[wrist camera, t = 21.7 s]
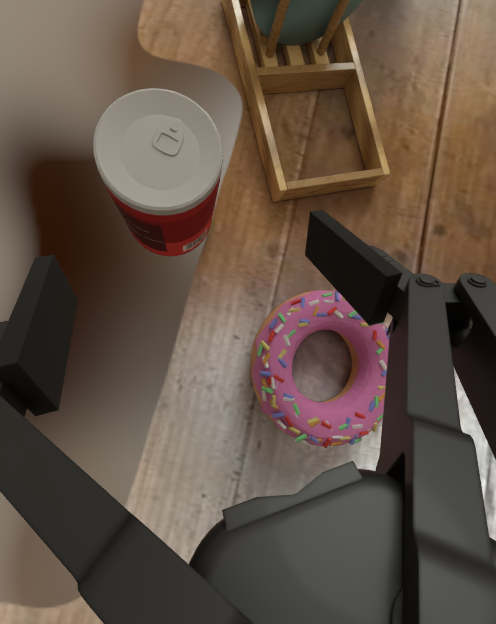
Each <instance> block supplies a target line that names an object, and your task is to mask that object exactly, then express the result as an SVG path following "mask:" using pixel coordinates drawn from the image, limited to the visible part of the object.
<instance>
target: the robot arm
mask: <svg viewBox="0 0 496 624" xmlns="http://www.w3.org/2000/svg"><path fill="white" fill-rule="evenodd" d="M305 255H306V257H307V258H308V259H309V260H310V261H311V262H312V263H313V264H314V265H315V266H316V268H317V269H318V270H319V271H320V272H321V273H322V274H323V275H324V276H325V278H326V279H327V280H328V281H329V282H330V283H331V284H332V285H333V286H334V288H335V289H336V290H337V291H338V292H339V293H340V294H341V295H342V296H343V298H344V299H345V300H346V301H347V302H348V303H349V304H350V305H351V306H352V307H353V309H354V310H355V311H356V312H357V313H358V314H359V315H360V316H361V317H362V319H363V320H364V321H365V322H366V323H367V324H368V325H369V326H371V325H375V324H379V323H382V322H384V320H385V317H386V315H387V312H388V313H389V314H390V315H391V316H392V317H393V319H392V321H391V323H390V326H389V328H388V331H387V333H386V335H389V333H390V336H389V348H388V361H387V373H386V386H385V398H384V410H383V423H382V435H381V448H380V456H379V460H378V463H377V467H376V471H371V470H364V469H357V467H356V465H355V464H354V462H353V461H351V462H349V463H346V464H343V465H341V466H338V467H335V468H333V469H330V470H327V471H325V472H323V473H321V474H320V475H319V476H318V477H316V478H315V479H314V480H313V481H311V482H310V483H309V484H308V485H306V486H305V487H304V488H303V489H301V490H300V491H299V492H298V493H296V494H293V495H283V496H267V497H256V498H253V499H250V500H248V501H245V502H242V503H240V504H237V505H234V506H232V507H229V508H226V509H224V510H222V512H223V517H224V519H222V520H221V521H220V522H218V523H217V524H216V525H215V526H214V527H213V528H212V529H211V530H210V531H209V532H208V533H207V534H206V536H205V537H204V538H203V540H202V541H201V543H200V544H199V546H198V547H197V549H196V551H195V553H194V555H193V557H192V559H191V561H190V563H189V565H188V564H187V563H186V562H185V561H184V560H183V559H182V558H181V557H180V556H178V555H177V554H176V553H175V552H174V551H173V550H172V549H171V548H170V547H168V546H167V545H166V544H165V543H164V542H163V541H162V540H161V539H160V538H158V537H157V536H156V535H155V534H154V533H153V532H152V531H151V530H150V529H148V528H147V527H146V526H145V525H144V524H143V523H142V522H141V521H139V520H138V519H137V518H136V517H135V516H134V515H132V514H131V513H130V512H129V511H128V510H127V509H126V508H124V507H123V506H122V505H121V504H120V503H119V502H118V501H117V500H116V499H114V498H113V497H112V496H111V495H110V494H109V493H108V492H106V490H104V489H103V488H102V487H101V486H100V485H99V484H98V483H97V482H96V481H94V480H93V479H92V478H91V477H90V476H89V475H88V474H87V473H86V472H84V471H83V470H82V469H81V468H80V467H79V466H78V465H77V464H75V463H74V462H73V461H72V460H71V459H70V458H69V457H68V456H67V455H65V454H64V453H63V452H62V451H61V450H60V449H59V448H58V447H57V446H55V445H54V444H53V443H52V442H51V441H50V440H49V439H48V438H47V437H45V436H44V435H43V434H42V433H41V432H40V431H39V430H38V429H37V428H36V427H34V426H33V425H32V424H31V423H30V422H29V421H28V420H27V419H26V418H24V417H25V413H26V409H29V410H30V411H31V412H32V413H33V414H34V415H35V416H38V415H42V414H45V413H49V412H53V411H56V410H59V404H60V398H61V393H62V388H63V382H64V376H65V370H66V364H67V359H68V353H69V348H70V343H71V337H72V331H73V326H74V320H75V314H76V309H77V303H78V300H77V298H76V296H75V294H74V292H73V290H72V289H71V287H70V285H69V283H68V281H67V280H66V277H65V276H64V274H63V272H62V270H61V268H60V266H59V265H58V263H57V261H56V259H55V257H54V255H50V256H44V257H38V258H35V260H34V262H33V264H32V267H31V269H30V271H29V274H28V276H27V278H26V281H25V283H24V286H23V288H22V290H21V293H20V295H19V297H18V300H17V302H16V304H15V307H14V309H13V311H12V314H11V316H10V319H9V321H4V322H0V492H1V493H2V494H3V495H4V496H5V497H6V499H7V500H8V501H9V502H10V503H11V504H12V506H13V507H14V508H15V509H16V510H17V511H18V513H19V514H20V515H21V516H22V517H23V518H24V519H25V520H26V522H27V523H28V524H29V525H30V526H31V527H32V529H33V530H34V531H35V532H36V533H37V535H38V536H39V537H40V538H41V539H42V540H43V542H44V543H45V544H46V545H47V546H48V547H49V549H50V550H51V551H52V552H53V553H54V554H55V556H56V557H57V558H58V559H59V560H60V561H61V563H62V564H63V565H64V566H65V567H66V568H67V570H68V571H69V572H70V573H71V574H72V575H73V577H74V578H75V579H76V581H77V583H78V591H79V592H80V594H81V596H82V597H83V599H84V600H85V601H86V603H87V604H88V605H89V606H90V608H91V609H92V610H93V611H94V612H95V614H96V615H97V616H98V617H99V618H100V620H101V621H102V622H103V623H104V624H496V541H495V540H493V539H492V538H490V537H489V533H488V526H487V520H486V513H485V507H484V500H483V494H482V487H481V481H480V474H479V468H478V461H477V455H476V448H475V444H474V441H473V439H472V437H471V436H470V435H468V434H465V433H463V432H462V430H461V426H460V418H459V409H458V401H457V393H456V385H455V377H454V369H453V366H454V368H455V371H456V373H457V375H458V377H459V379H460V382H461V384H462V386H463V388H464V390H465V393H466V395H467V397H468V399H469V402H470V404H471V406H472V408H473V410H474V413H475V415H476V417H477V419H478V422H479V424H480V426H481V428H482V430H483V433H484V435H485V437H486V439H487V441H488V444H489V446H490V448H491V450H492V453H493V455H494V457H495V459H496V285H495V283H494V282H493V281H491V280H490V279H488V278H486V277H485V276H483V275H480V274H473V273H465V274H462V275H461V276H460V277H459V279H458V281H457V283H442V282H441V281H440V280H438V279H437V278H435V277H433V276H430V275H427V274H413V273H412V272H410V271H409V270H408V269H406V268H405V267H404V266H402V265H401V264H400V263H398V262H397V261H395V260H394V259H393V258H392V257H390V256H389V255H388V254H387V253H385V252H384V251H383V250H381V249H379V248H376V247H374V246H368V245H367V244H366V243H364V242H363V241H362V240H360V239H359V238H358V237H357V236H355V235H354V234H353V233H352V232H350V231H349V230H348V229H346V228H345V227H344V226H343V225H341V224H340V223H339V222H338V221H336V220H335V219H334V218H332V217H331V216H330V215H329V214H327V213H326V212H325V211H323V210H318V211H312V212H310V217H309V226H308V234H307V243H306V251H305Z"/></svg>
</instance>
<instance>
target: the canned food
mask: <svg viewBox="0 0 496 624" xmlns="http://www.w3.org/2000/svg"><path fill="white" fill-rule="evenodd" d="M93 142H94V156H95V160H96V164H97V167H98V171H99V173H100V175H101V177H102V179H103V181H104V183H105V185H106V187H107V189H108V191H109V193H110V195H111V197H112V199H113V200H114V202H115V204H116V205H117V207H118V209H119V211H120V213H121V215H122V216H123V218H124V220H125V222H126V223H127V225H128V227H129V229H130V231H131V232H132V234H133V236H134V237H135V238H136V240H137V241H138V242H139V243H140V244H141V245H142V246H143V247H144V248H146V249H147V250H149V251H151V252H153V253H156V254H159V255H164V256H177V255H182V254H185V253H187V252H190V251H191V250H193V249H195V248H196V247H197V246H198V245H199V244H200V243H201V242H202V241H203V240H204V238H205V237H206V235H207V234H208V231H209V228H210V225H211V220H212V215H213V211H214V206H215V201H216V196H217V191H218V187H219V182H220V175H221V169H222V162H223V159H222V157H223V155H222V143H221V139H220V136H219V132H218V130H217V128H216V126H215V124H214V122H213V120H212V119H211V118H210V116H209V115H208V114H207V112H205V110H204V109H203V108H202V107H200V106H199V105H198V104H197V103H196V102H194V101H193V100H191V99H190V98H188V97H186V96H184V95H181V94H179V93H177V92H174V91H170V90H166V89H155V88H150V89H142V90H137V91H134V92H131V93H128V94H126V95H124V96H122V97H121V98H119V99H117V100H116V101H115V102H114V103H113V104H111V105H110V106H109V107H108V108H107V109H106V111H105V113H104V114H103V115H102V116H101V118H100V120H99V123H98V125H97V127H96V130H95V136H94V141H93Z"/></svg>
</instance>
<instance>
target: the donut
mask: <svg viewBox="0 0 496 624" xmlns="http://www.w3.org/2000/svg"><path fill="white" fill-rule="evenodd" d="M384 321H385V320H384ZM383 323H384V322H382V323H379V324H375V325H371V326H369V325H368V324H367V323H366V322H365V321H364V320H363V319H362V317H361V316H360V315H359V314H358V313H357V312H356V311H355V310H354V309H353V307H352V306H351V305H350V304H349V303H348V302H347V301H346V300H345V299H344V298H343V296H342V295H341V294H340V293H339V292H334V291H329V290H318V291H310V292H305V293H302V294H299V295H296V296H294V297H292V298H290V299H288V300H286V301H284V302H283V303H281V304H280V305H279V306H277V307H276V308H275V309H274V310H273V311H272V312H271V313H270V315H269V316H268V317H267V318H266V319H265V320H264V322H263V323H262V325H261V327H260V329H259V331H258V333H257V335H256V338H255V341H254V344H253V348H252V355H251V376H252V383H253V387H254V390H255V393H256V396H257V398H258V401H259V402H260V404H261V410H262V411H263V412H264V413H265V414H267V416H268V417H269V418H270V419H271V420H272V421H273V422H274V423H275V424H276V426H277V427H278V428H279V429H280V430H282V431H283V432H285V433H287V434H288V435H290V436H292V437H294V438H295V439H296V441H297V442H300V443H303V444H306V445H308V444H312V445H318V446H323V447H325V448H327V446H338V445H342V444H346V443H350V444H351V445H353V444H354V443H356V442H358V441H360V440H361V437H363V436H364V435H366V434H369V432H370V431H371V430H372V431H374V432H375V431H376V430H377V426H379V427H380V426H381V425H382V423H383V410H384V398H385V386H386V373H387V361H388V348H389V336H390V333H389V335H386V333H387V331H388V329H387V328H386V327H385V325H384V324H383ZM318 330H333V331H335V332H337V333H338V334H339V335H341V336H342V338H343V339H344V340H345V341H346V343H347V344H348V347H349V349H350V352H351V357H352V369H351V373H350V377H349V380H348V382H347V384H346V385H345V387H344V388H343V389H342V391H341V392H340V393H339V394H337V395H336V396H335V397H333V398H332V399H329V400H327V401H322V402H314V401H312V400H309V399H307V398H306V397H304V396H303V395H302V394H301V393H300V392H299V391H298V389H297V388H296V385H295V383H294V381H293V376H292V363H293V358H294V355H295V352H296V350H297V348H298V346H299V345H300V344H301V343H302V341H303V340H304V339H305V338H306V337H307V336H308V335H310V334H311V333H313V332H316V331H318Z"/></svg>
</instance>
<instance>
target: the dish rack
mask: <svg viewBox="0 0 496 624" xmlns="http://www.w3.org/2000/svg"><path fill="white" fill-rule="evenodd" d="M361 2H362V0H222V4H223V8H224V12H225V16H226V20H227V24H228V28H229V32H230V35H231V39H232V43H233V47H234V51H235V55H236V59H237V63H238V67H239V71H240V75H241V79H242V83H243V87H244V91H245V95H246V99H247V103H248V106H249V110H250V114H251V118H252V122H253V126H254V130H255V134H256V138H257V142H258V146H259V150H260V154H261V158H262V162H263V166H264V170H265V174H266V177H267V181H268V185H269V189H270V193H271V197H272V201H273V202H276V201H282V200H289V199H295V198H301V197H307V196H314V195H320V194H326V193H332V192H339V191H345V190H351V189H357V188H364V187H371V186H376V185H377V184H378V183H380V182H381V181H382V180H383V179H385V178H386V177H387V176H388V175H390V171H389V168H388V164H387V160H386V156H385V153H384V149H383V145H382V141H381V138H380V134H379V130H378V127H377V123H376V119H375V115H374V112H373V108H372V104H371V100H370V97H369V93H368V89H367V85H366V82H365V78H364V74H363V70H362V67H361V63H360V59H359V56H358V52H357V48H356V44H355V41H354V37H353V33H352V29H351V26H350V22H349V18H348V16H350V15H351V13H352V12H353V11H354V10H355V9H356V8H357V7H358V5H359V4H360V3H361ZM241 7H246V11H247V15H248V18H249V22H250V26H251V30H252V34H253V38H254V42H255V46H256V50H257V54H258V57H259V61H260V65H261V67H257V68H256V66H255V62H254V58H253V54H252V50H251V46H250V42H249V38H248V35H247V31H246V27H245V23H244V19H243V15H242V11H241ZM322 36H323V37H322ZM330 40H331V42H332V46H333V49H334V53H335V57H336V61H337V63H330V64H329V60H328V56H327V52H326V49H327V47H328V45H329V42H330ZM277 43H280V44H281V46H282V50H283V54H284V58H285V62H286V66H279V64H278V60H277V57H276V53H275V48H276V45H277ZM304 43H306V47H307V51H308V54H309V58H310V62H311V65H305V64H304V60H303V56H302V52H301V48H300V45H299V44H304ZM337 88H344V91H345V95H346V99H347V102H348V106H349V110H350V114H351V117H352V121H353V125H354V129H355V133H356V136H357V140H358V144H359V148H360V151H361V155H362V159H363V163H364V166H365V171H359V172H352V173H345V174H338V175H331V176H324V177H317V178H311V179H304V180H297V181H290V182H285V179H284V175H283V171H282V168H281V164H280V160H279V156H278V152H277V148H276V144H275V140H274V136H273V132H272V128H271V125H270V121H269V117H268V113H267V109H266V105H265V101H264V97H263V94H271V93H284V92H297V91H311V90H324V89H337Z"/></svg>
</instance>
